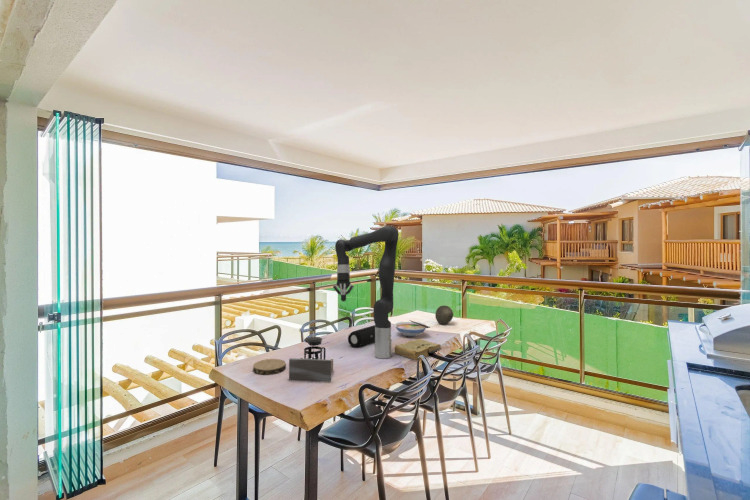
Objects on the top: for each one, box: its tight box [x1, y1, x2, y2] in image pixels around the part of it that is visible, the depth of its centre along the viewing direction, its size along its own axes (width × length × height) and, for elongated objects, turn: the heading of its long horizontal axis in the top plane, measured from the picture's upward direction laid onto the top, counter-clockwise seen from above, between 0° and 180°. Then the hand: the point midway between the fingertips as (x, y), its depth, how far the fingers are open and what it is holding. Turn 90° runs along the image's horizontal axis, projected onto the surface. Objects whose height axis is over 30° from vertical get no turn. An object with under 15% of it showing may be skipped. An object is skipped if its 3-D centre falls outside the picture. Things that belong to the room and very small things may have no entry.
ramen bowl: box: [394, 319, 431, 338], centre depth 253 cm, size 25×23×8 cm
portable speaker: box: [347, 324, 375, 348], centre depth 232 cm, size 26×10×10 cm, turn 143°
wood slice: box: [252, 358, 287, 376], centre depth 183 cm, size 16×16×3 cm
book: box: [393, 338, 442, 362], centre depth 213 cm, size 25×17×6 cm
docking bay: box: [288, 357, 334, 382], centre depth 176 cm, size 14×20×10 cm
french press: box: [303, 326, 327, 360], centre depth 180 cm, size 12×9×23 cm
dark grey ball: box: [434, 305, 454, 325], centre depth 288 cm, size 14×14×15 cm
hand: (343, 301), depth 214 cm, fingers closed
